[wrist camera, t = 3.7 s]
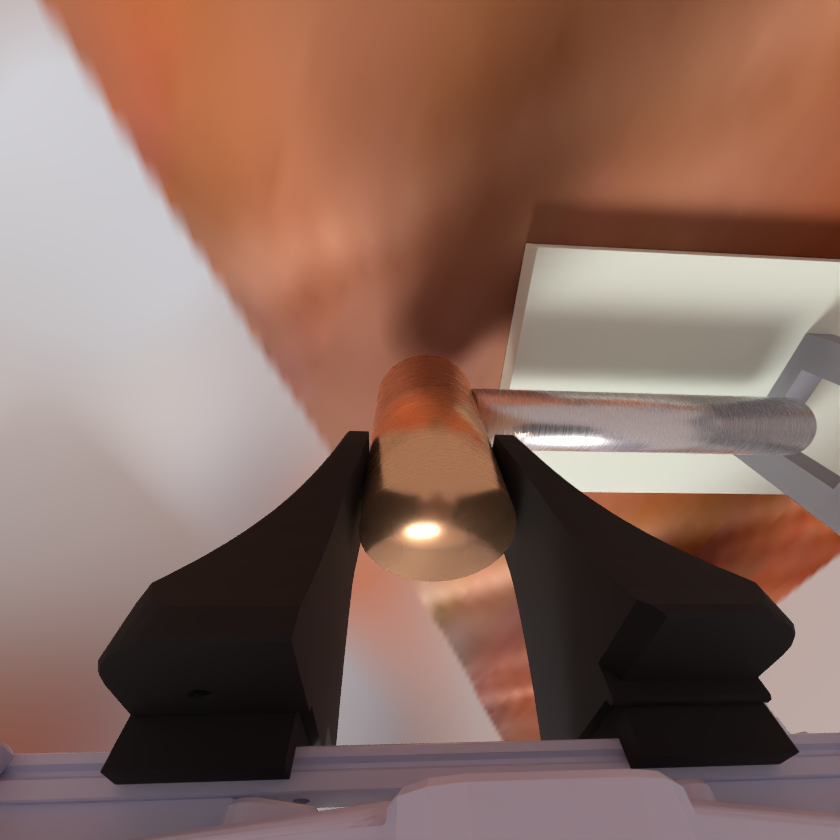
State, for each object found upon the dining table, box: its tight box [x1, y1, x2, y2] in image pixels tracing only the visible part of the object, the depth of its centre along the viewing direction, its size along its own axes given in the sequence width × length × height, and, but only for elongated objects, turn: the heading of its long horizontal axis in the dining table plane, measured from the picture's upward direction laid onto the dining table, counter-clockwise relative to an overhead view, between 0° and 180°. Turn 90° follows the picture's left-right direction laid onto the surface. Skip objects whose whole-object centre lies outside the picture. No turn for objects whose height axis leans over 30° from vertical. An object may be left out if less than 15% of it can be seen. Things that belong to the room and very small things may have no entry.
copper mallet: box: [359, 356, 817, 581], centre depth 12 cm, size 4×17×7 cm, turn 87°
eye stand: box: [500, 243, 840, 535], centre depth 15 cm, size 12×20×8 cm, turn 87°
